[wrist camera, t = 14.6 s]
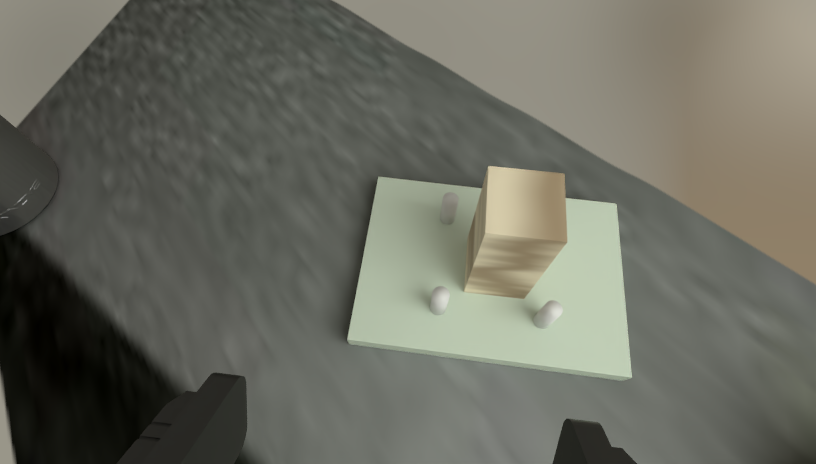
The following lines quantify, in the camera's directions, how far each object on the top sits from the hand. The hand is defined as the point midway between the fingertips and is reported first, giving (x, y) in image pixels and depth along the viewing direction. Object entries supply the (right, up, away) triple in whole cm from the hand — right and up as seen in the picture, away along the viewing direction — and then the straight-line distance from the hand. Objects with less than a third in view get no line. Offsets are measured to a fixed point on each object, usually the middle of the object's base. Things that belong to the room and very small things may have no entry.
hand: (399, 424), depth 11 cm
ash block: (+7, +2, +23) cm, 24 cm away
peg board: (+7, +1, +25) cm, 26 cm away
